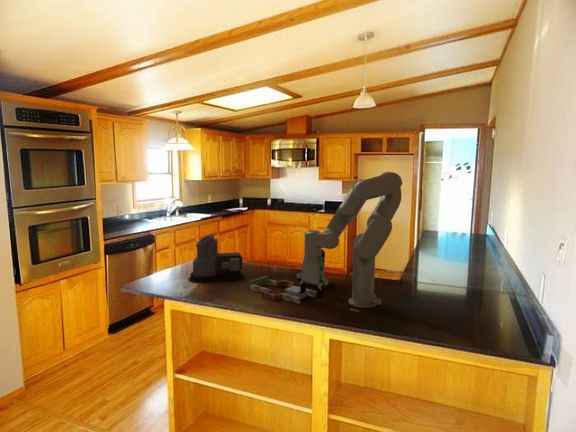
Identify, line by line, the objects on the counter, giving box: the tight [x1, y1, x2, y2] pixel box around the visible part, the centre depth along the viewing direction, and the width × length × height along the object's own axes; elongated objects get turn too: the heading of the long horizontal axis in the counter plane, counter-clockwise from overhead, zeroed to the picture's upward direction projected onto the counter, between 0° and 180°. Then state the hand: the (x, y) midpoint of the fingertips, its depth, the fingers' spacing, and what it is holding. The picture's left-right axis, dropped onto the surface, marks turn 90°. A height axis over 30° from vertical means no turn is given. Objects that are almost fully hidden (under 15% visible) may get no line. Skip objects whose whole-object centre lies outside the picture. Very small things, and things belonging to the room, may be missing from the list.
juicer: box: [187, 233, 246, 284], centre depth 208 cm, size 30×16×24 cm, turn 107°
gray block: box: [284, 285, 307, 300], centre depth 180 cm, size 7×7×4 cm
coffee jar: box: [306, 248, 326, 288], centre depth 198 cm, size 10×8×19 cm
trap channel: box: [247, 275, 317, 305], centre depth 186 cm, size 32×21×4 cm
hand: (311, 295), depth 174 cm, fingers open, 9 cm apart
